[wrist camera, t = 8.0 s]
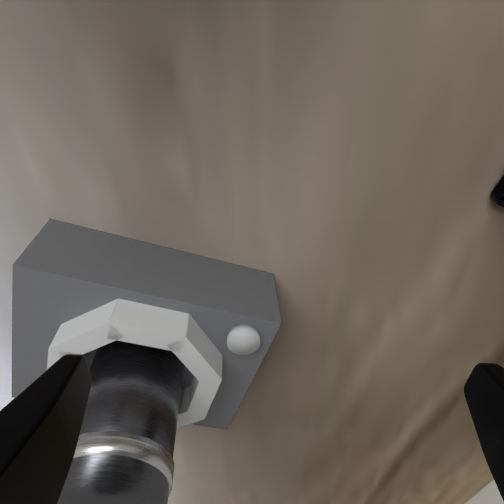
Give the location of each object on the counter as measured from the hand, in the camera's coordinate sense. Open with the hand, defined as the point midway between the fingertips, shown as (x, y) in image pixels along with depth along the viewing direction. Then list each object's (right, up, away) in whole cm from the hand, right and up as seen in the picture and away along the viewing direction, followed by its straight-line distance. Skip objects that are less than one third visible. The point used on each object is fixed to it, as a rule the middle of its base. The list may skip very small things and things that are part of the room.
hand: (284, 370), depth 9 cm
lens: (-6, -3, +11) cm, 13 cm away
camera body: (-7, -1, +14) cm, 15 cm away
